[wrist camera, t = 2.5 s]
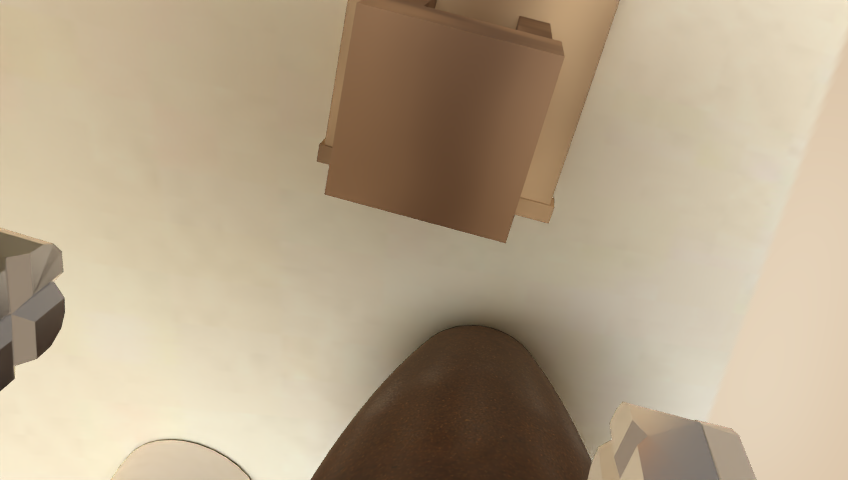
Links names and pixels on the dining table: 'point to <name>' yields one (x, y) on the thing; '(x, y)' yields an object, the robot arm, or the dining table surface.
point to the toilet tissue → (177, 463)
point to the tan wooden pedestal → (583, 44)
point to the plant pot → (461, 418)
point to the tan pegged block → (441, 114)
